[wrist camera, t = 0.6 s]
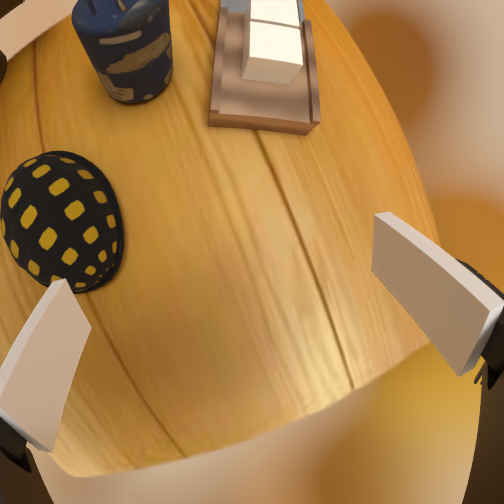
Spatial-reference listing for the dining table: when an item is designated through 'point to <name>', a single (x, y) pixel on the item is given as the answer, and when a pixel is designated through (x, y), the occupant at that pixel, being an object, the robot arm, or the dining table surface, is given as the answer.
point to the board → (261, 86)
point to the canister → (127, 45)
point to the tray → (238, 3)
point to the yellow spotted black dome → (62, 221)
